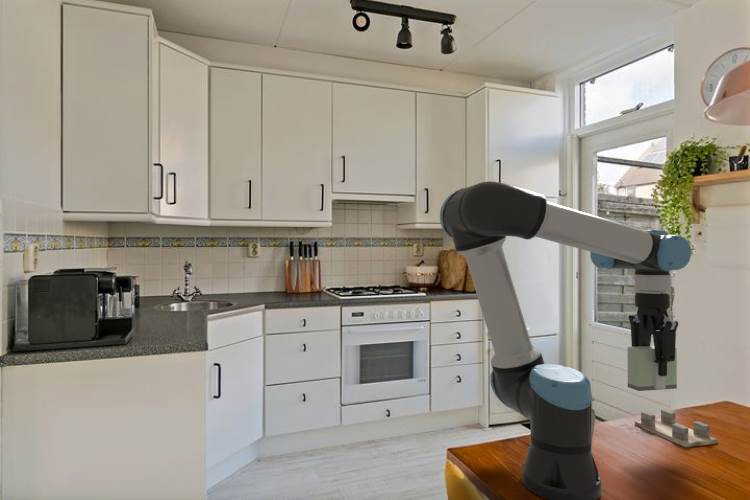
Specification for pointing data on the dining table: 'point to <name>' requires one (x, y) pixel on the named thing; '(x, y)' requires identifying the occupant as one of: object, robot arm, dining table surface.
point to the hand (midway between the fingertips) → (652, 386)
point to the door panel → (648, 369)
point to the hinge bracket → (676, 429)
